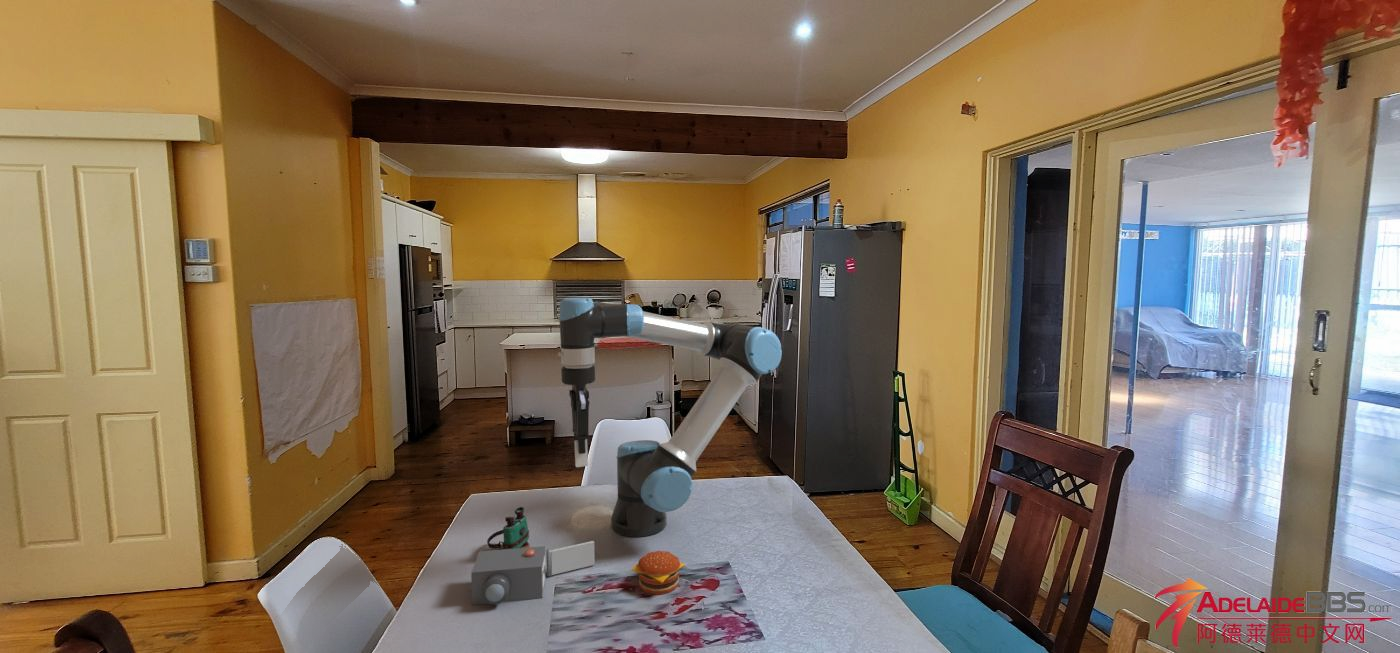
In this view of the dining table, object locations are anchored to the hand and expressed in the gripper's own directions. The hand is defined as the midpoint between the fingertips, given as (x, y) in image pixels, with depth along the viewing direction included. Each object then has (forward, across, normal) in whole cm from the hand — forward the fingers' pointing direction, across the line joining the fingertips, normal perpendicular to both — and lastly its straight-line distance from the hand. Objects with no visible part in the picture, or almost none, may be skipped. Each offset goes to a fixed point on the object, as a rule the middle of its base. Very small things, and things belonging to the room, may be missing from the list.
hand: (581, 465), depth 130 cm
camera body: (+24, +7, -17) cm, 30 cm away
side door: (+24, +2, -4) cm, 24 cm away
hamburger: (+25, +14, +14) cm, 32 cm away
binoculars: (+24, -12, -17) cm, 32 cm away
